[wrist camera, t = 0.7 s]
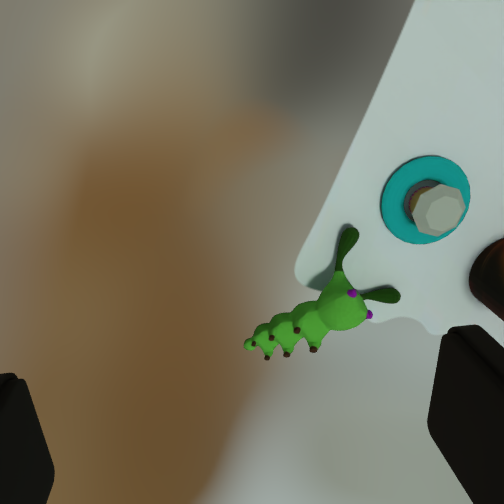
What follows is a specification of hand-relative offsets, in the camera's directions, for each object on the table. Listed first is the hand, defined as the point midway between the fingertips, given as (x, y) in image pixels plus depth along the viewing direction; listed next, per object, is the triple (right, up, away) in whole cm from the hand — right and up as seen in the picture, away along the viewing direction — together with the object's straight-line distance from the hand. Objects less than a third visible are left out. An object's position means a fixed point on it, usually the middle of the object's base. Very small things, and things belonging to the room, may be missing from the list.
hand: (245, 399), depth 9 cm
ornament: (+23, +12, +34) cm, 43 cm away
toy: (+5, -7, +37) cm, 38 cm away
